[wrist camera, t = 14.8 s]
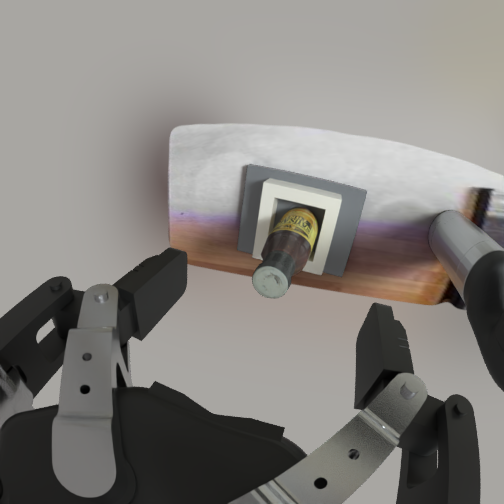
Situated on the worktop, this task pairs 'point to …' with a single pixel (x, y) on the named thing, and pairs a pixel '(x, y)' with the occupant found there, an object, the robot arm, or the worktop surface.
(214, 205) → the worktop surface
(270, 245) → the sauce bottle
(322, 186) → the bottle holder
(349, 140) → the worktop surface
